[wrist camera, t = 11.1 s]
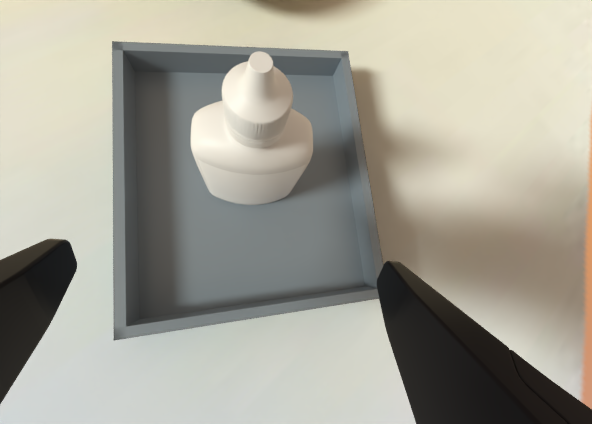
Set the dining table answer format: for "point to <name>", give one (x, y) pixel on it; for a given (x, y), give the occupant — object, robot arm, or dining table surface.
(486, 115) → the dining table surface
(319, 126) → the slate tray
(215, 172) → the eye dropper bottle
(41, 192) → the dining table surface
